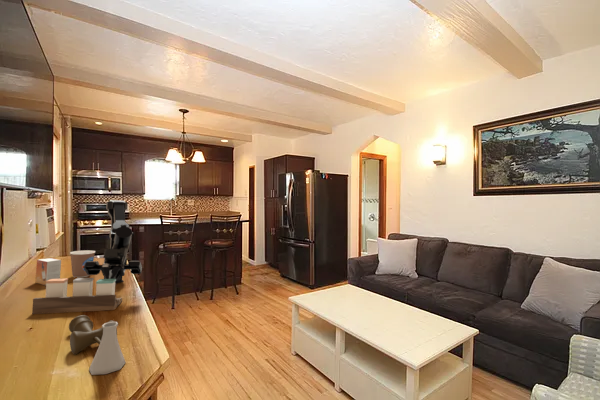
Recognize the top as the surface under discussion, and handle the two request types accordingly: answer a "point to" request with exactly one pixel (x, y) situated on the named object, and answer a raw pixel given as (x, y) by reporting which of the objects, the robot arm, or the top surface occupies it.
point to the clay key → (56, 288)
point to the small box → (47, 270)
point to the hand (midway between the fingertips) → (107, 287)
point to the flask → (108, 352)
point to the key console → (75, 304)
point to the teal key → (105, 287)
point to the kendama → (83, 333)
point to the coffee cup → (80, 262)
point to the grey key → (83, 286)
